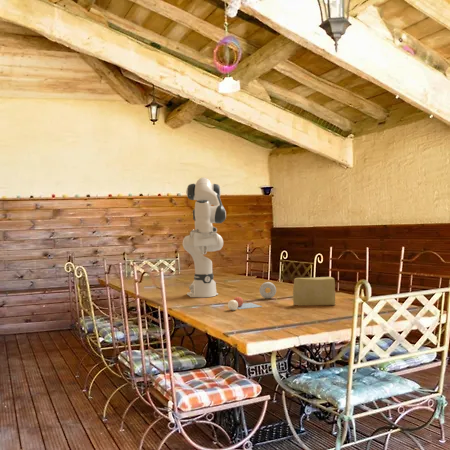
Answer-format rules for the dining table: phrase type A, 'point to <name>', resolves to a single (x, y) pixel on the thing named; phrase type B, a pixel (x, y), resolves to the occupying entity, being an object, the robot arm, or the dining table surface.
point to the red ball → (239, 301)
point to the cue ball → (232, 305)
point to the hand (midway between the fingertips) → (203, 254)
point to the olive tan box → (314, 291)
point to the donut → (267, 285)
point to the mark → (248, 306)
